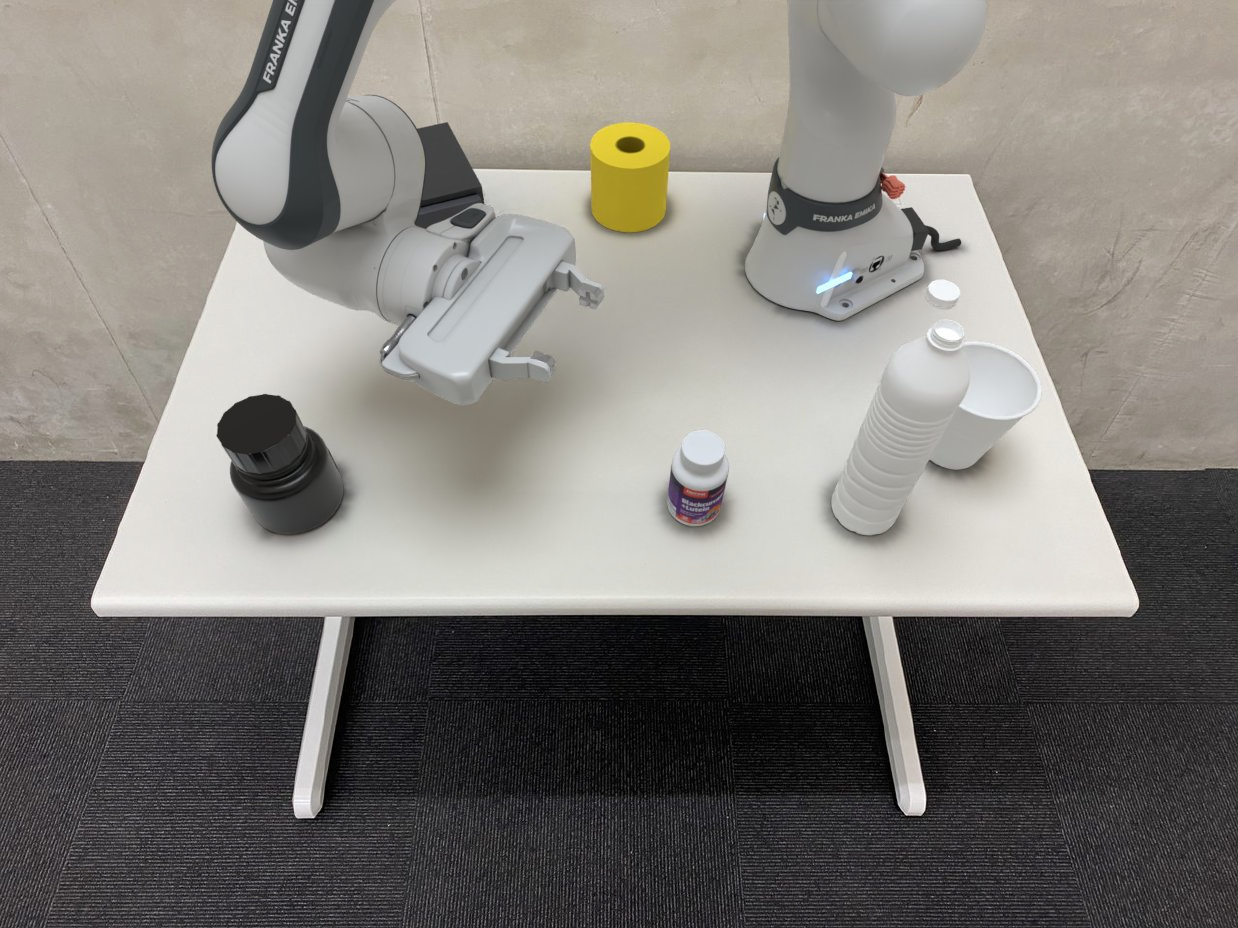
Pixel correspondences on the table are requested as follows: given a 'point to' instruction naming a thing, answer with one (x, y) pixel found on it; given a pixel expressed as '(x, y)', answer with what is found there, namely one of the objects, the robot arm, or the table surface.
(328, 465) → the ink bottle
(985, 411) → the cup
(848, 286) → the robot arm
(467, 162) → the cabinet
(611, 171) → the yellow toilet paper roll
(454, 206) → the drawer
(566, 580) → the table surface
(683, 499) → the pill bottle
